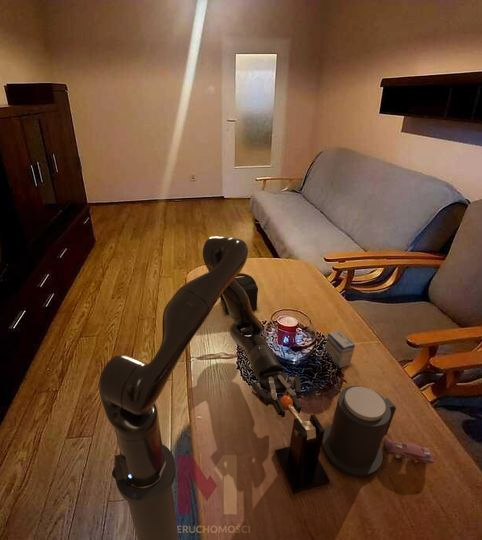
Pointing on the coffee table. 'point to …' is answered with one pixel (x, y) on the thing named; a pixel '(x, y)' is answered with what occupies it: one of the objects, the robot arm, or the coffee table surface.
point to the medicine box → (339, 349)
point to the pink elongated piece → (409, 451)
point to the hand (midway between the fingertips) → (291, 412)
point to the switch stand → (303, 458)
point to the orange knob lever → (298, 416)
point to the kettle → (358, 432)
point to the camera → (248, 287)
